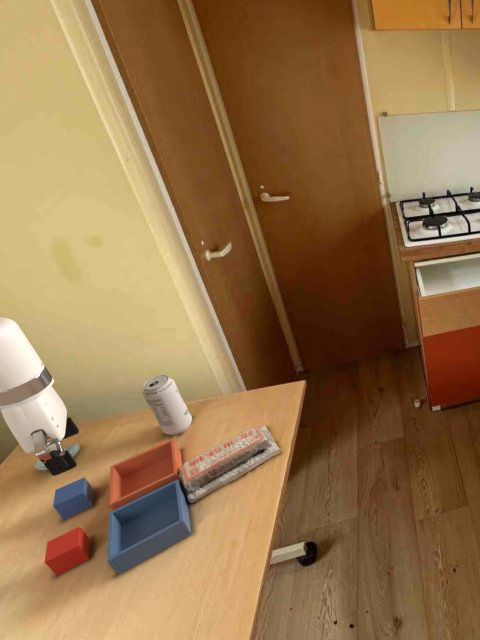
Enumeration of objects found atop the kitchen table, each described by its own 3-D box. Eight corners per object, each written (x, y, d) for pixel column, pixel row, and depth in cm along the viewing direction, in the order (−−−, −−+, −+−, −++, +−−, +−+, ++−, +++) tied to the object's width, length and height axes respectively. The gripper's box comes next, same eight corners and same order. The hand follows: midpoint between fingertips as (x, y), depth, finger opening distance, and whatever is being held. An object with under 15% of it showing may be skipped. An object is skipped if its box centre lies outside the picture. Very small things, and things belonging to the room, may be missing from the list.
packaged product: (182, 491, 86) (172, 460, 92) (190, 506, 88) (180, 474, 94) (276, 439, 97) (262, 414, 103) (281, 453, 99) (267, 428, 105)
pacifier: (38, 463, 97) (40, 478, 93) (24, 444, 94) (25, 459, 91) (81, 442, 102) (84, 456, 98) (68, 424, 99) (71, 437, 96)
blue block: (63, 519, 85) (52, 506, 83) (66, 503, 89) (55, 489, 86) (93, 506, 88) (83, 492, 86) (94, 490, 91) (84, 476, 89)
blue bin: (118, 574, 77) (107, 561, 75) (118, 526, 84) (108, 512, 82) (191, 534, 83) (183, 520, 81) (185, 492, 91) (178, 478, 89)
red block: (56, 576, 77) (44, 562, 74) (59, 555, 80) (47, 541, 78) (89, 558, 79) (78, 545, 77) (91, 539, 82) (80, 525, 80)
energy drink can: (198, 422, 107) (177, 378, 100) (172, 440, 102) (148, 395, 95) (185, 413, 110) (163, 370, 103) (159, 431, 105) (134, 386, 98)
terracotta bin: (118, 519, 86) (108, 505, 84) (119, 479, 93) (110, 466, 91) (185, 486, 92) (177, 472, 90) (180, 451, 100) (173, 438, 98)
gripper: (-5, 368, 76) (43, 434, 83) (-24, 428, 64) (34, 498, 72) (53, 350, 80) (94, 415, 88) (45, 404, 68) (92, 472, 76)
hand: (67, 452), depth 80 cm, fingers open, 9 cm apart
